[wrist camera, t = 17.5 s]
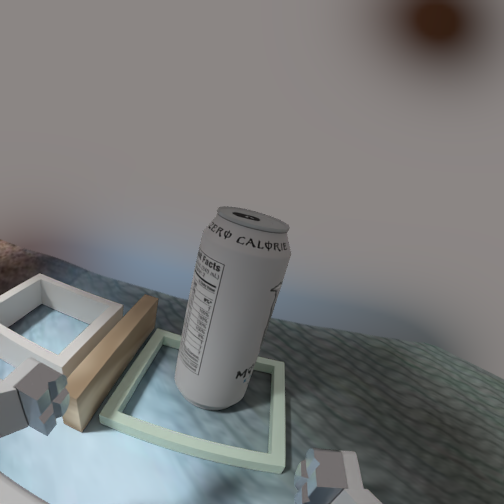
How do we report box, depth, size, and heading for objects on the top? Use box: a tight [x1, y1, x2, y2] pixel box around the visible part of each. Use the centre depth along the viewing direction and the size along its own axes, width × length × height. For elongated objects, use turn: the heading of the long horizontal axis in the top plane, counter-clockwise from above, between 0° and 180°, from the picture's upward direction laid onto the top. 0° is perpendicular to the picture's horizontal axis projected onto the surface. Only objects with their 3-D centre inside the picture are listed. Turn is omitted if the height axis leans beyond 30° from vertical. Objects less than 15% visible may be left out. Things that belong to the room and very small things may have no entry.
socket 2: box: [99, 328, 285, 474], centre depth 24 cm, size 13×13×1 cm
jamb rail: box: [62, 294, 158, 432], centre depth 23 cm, size 2×16×4 cm, turn 176°
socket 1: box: [0, 273, 123, 378], centre depth 24 cm, size 11×11×3 cm
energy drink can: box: [175, 207, 291, 410], centre depth 23 cm, size 6×6×15 cm
